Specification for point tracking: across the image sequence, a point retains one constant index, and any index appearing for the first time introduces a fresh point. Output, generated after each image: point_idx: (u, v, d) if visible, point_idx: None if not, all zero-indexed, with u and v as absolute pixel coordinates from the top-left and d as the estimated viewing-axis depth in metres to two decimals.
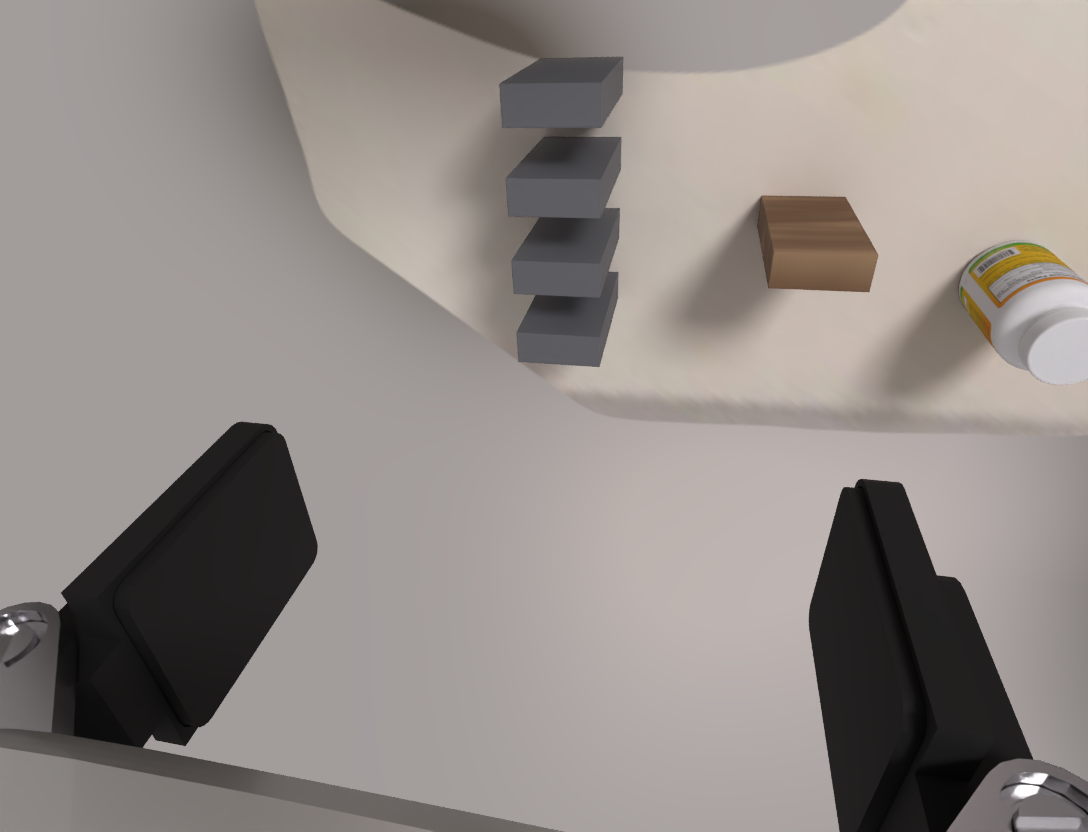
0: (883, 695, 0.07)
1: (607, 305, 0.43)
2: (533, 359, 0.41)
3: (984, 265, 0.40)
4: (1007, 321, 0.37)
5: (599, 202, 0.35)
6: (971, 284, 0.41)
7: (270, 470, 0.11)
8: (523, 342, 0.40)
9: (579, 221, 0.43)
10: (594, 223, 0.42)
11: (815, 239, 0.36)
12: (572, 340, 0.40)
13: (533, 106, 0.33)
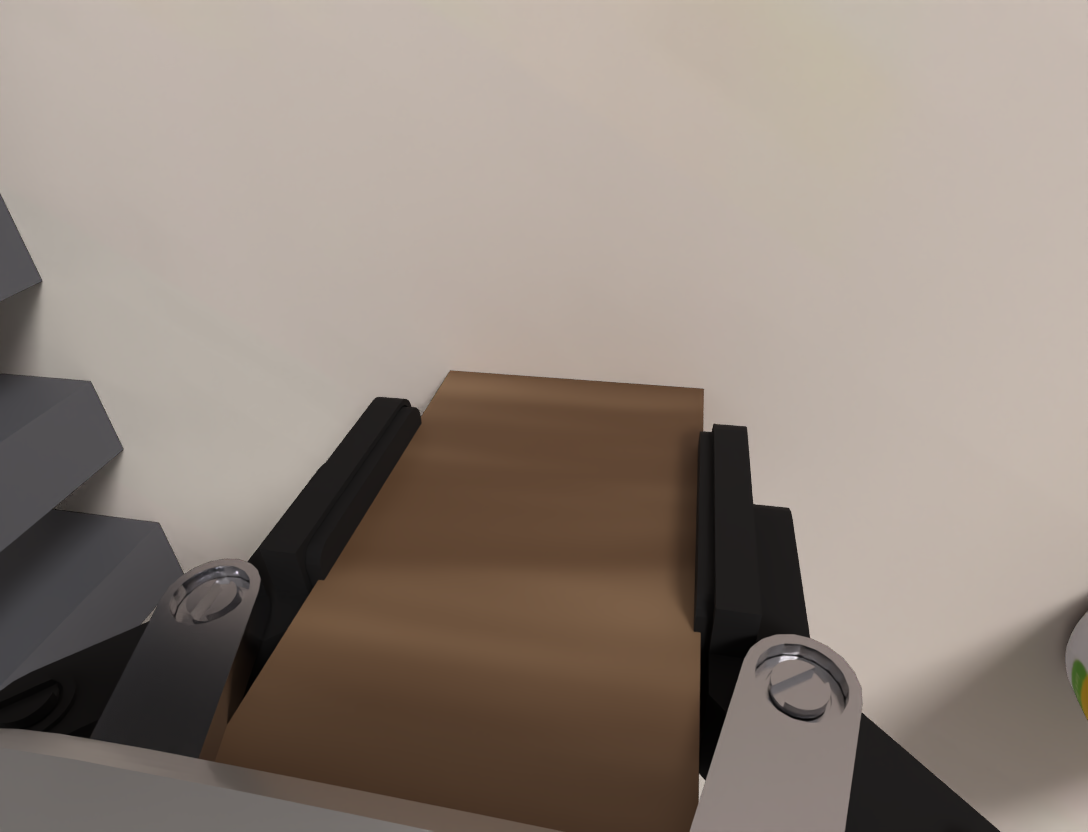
0: (694, 594, 0.09)
1: None
2: None
3: None
4: None
5: None
6: None
7: None
8: None
9: None
10: None
11: (419, 780, 0.07)
12: None
13: None
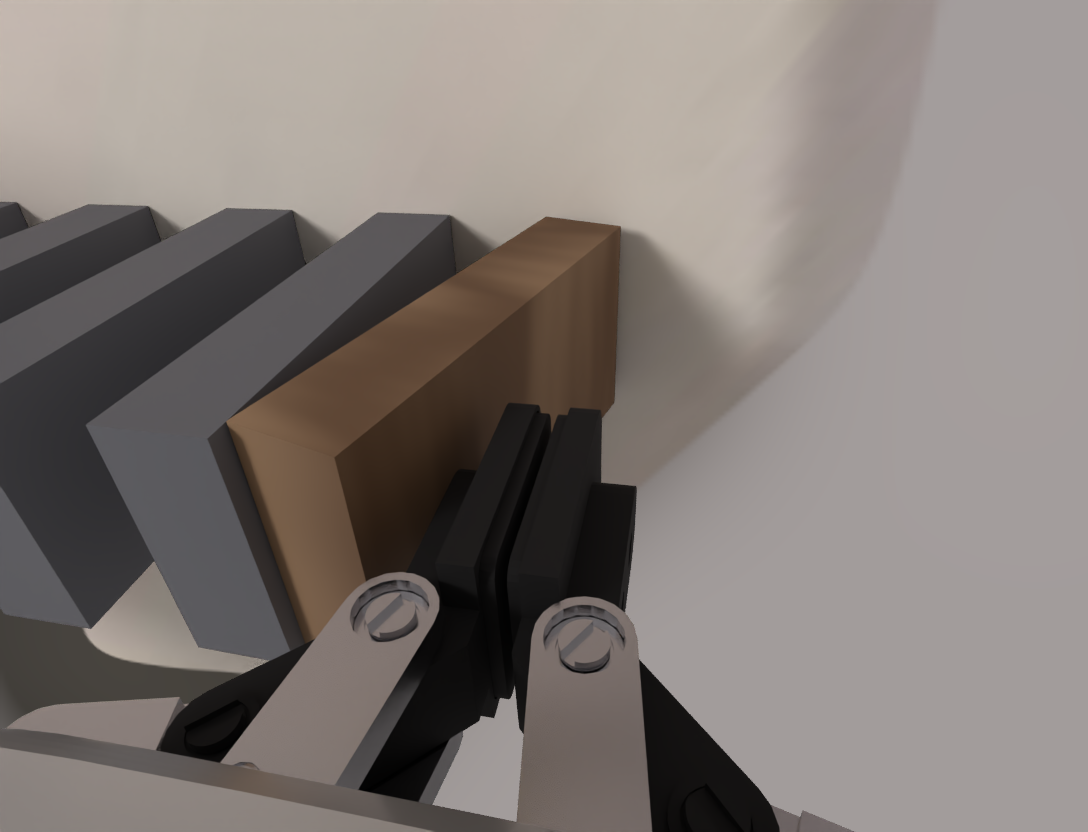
0: None
1: None
2: (270, 628, 0.11)
3: None
4: None
5: None
6: None
7: (544, 450, 0.11)
8: (222, 639, 0.12)
9: None
10: None
11: None
12: (147, 511, 0.10)
13: None
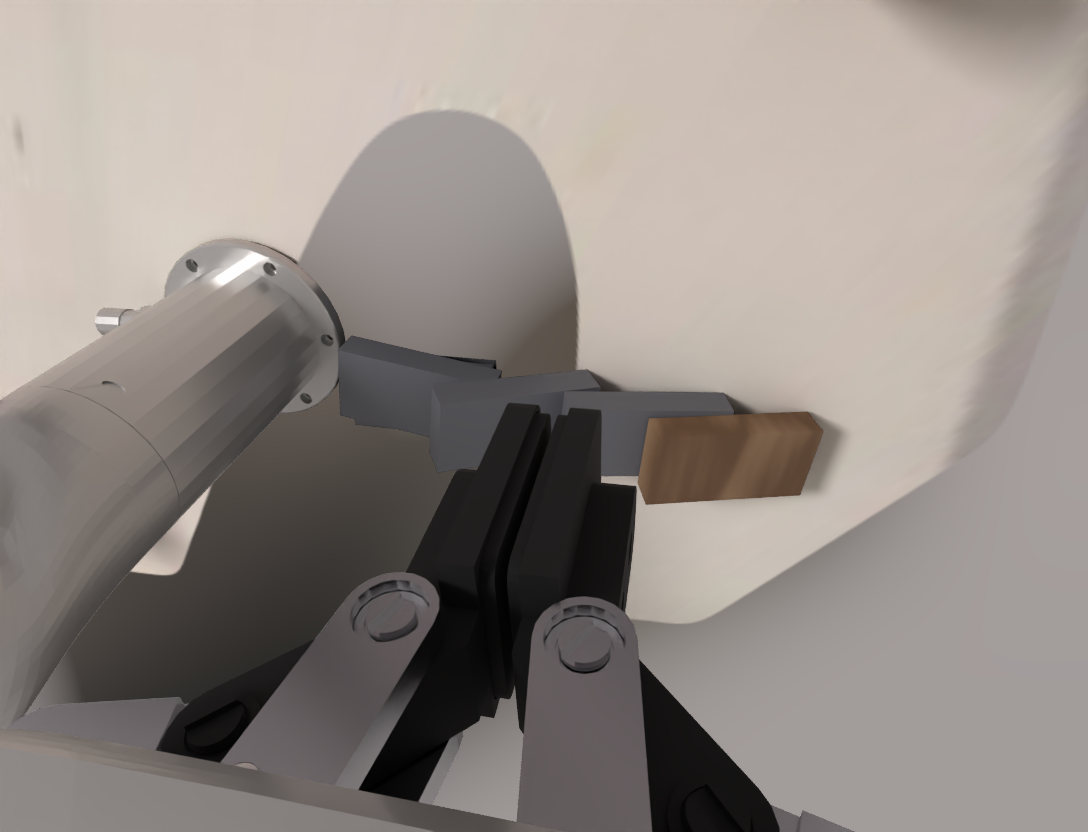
0: None
1: None
2: None
3: None
4: None
5: (343, 344, 0.42)
6: None
7: (544, 450, 0.11)
8: None
9: None
10: None
11: None
12: None
13: None
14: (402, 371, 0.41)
